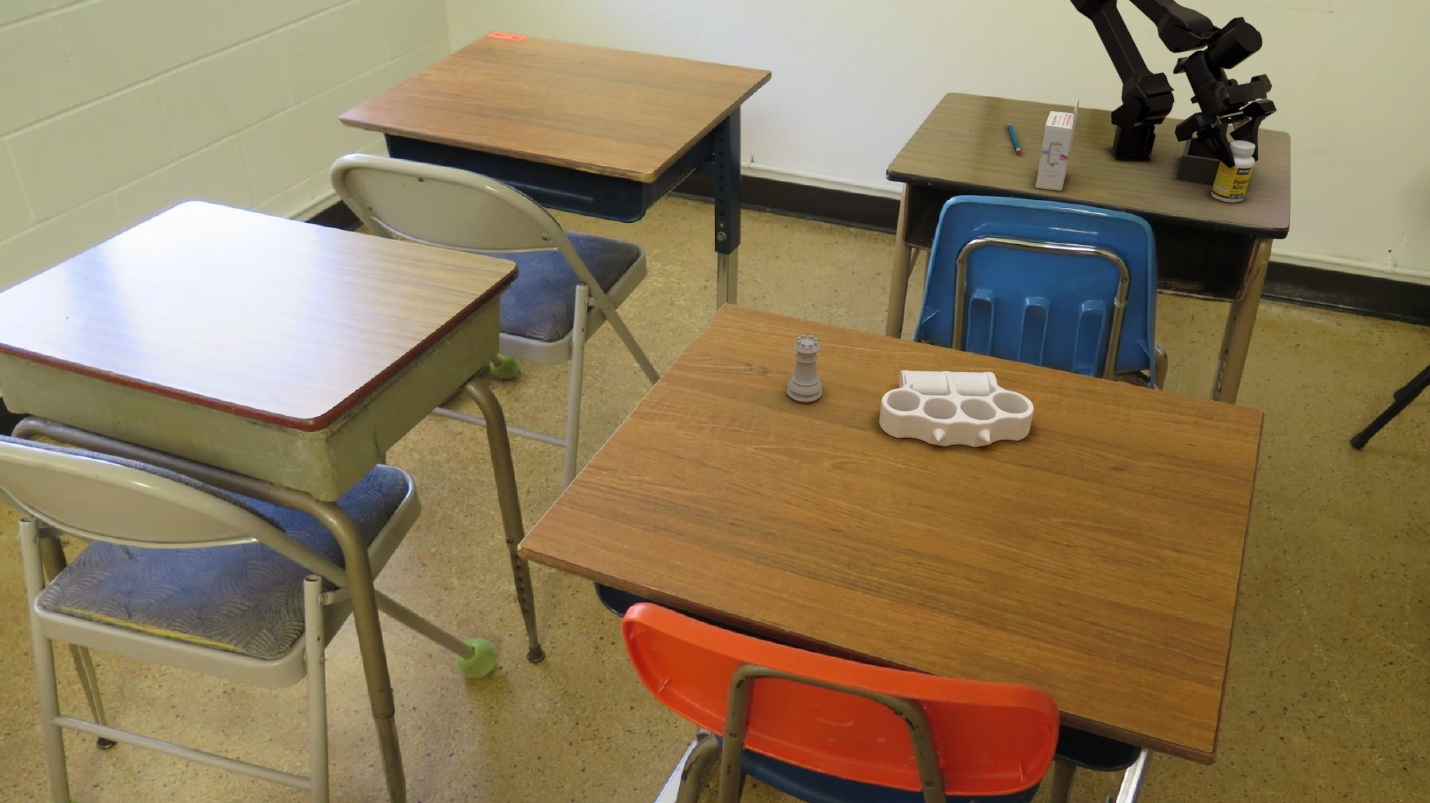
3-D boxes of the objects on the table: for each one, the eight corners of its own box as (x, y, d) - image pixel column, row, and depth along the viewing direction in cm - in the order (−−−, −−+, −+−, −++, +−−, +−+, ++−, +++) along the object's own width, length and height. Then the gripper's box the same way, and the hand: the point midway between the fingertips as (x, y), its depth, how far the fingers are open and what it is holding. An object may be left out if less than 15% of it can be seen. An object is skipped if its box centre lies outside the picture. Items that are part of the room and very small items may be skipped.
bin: (1176, 179, 194) (1182, 155, 192) (1181, 158, 203) (1187, 136, 200) (1244, 189, 190) (1251, 165, 188) (1246, 168, 199) (1253, 145, 196)
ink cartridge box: (1038, 171, 197) (1052, 93, 189) (1066, 175, 195) (1081, 96, 187) (1033, 188, 190) (1048, 107, 182) (1062, 192, 189) (1077, 111, 181)
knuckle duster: (1013, 387, 135) (1039, 455, 122) (872, 384, 135) (884, 452, 123) (1018, 365, 133) (1044, 432, 120) (874, 362, 133) (886, 428, 121)
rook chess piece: (784, 385, 135) (786, 331, 130) (818, 384, 135) (822, 330, 131) (789, 405, 131) (792, 349, 127) (824, 403, 131) (828, 348, 127)
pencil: (1016, 154, 204) (1017, 150, 204) (1006, 125, 218) (1007, 121, 218) (1021, 154, 204) (1021, 151, 204) (1010, 125, 218) (1011, 122, 218)
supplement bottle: (1228, 205, 184) (1244, 151, 179) (1204, 194, 188) (1218, 141, 183) (1250, 200, 186) (1266, 146, 181) (1225, 189, 190) (1240, 136, 185)
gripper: (1206, 65, 173) (1242, 151, 171) (1283, 52, 181) (1319, 134, 178) (1158, 99, 184) (1192, 181, 182) (1233, 85, 191) (1267, 163, 189)
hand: (1244, 164), depth 182 cm, fingers closed on supplement bottle, 5 cm apart
